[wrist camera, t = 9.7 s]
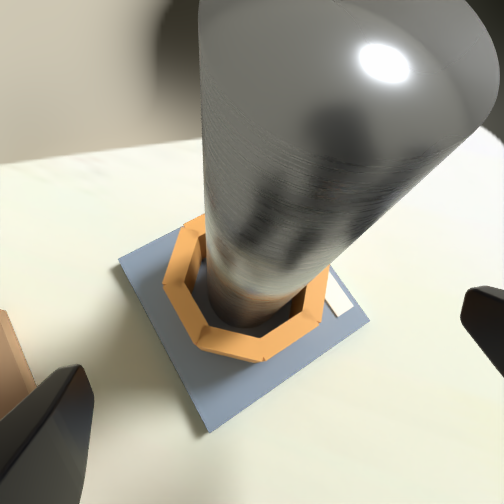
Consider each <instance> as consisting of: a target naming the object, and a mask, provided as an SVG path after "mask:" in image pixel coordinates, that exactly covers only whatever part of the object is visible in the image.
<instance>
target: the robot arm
mask: <svg viewBox="0 0 504 504" xmlns="http://www.w3.org/2000/svg"><path fill="white" fill-rule="evenodd" d="M460 320H461V323H462V325H463V326H464V328H465V329H466V330H467V332H468V333H469V334H470V335H471V337H472V338H473V339H474V341H475V342H476V343H477V344H478V346H479V347H480V348H481V349H482V351H483V352H484V353H485V355H486V356H487V357H488V358H489V360H490V361H491V362H492V364H493V365H494V366H495V367H496V369H497V370H498V371H499V372H500V374H501V375H502V376H503V377H504V290H502V289H498V288H494V287H490V286H479V287H474V288H470V289H468V290H467V292H466V294H465V297H464V301H463V306H462V310H461V314H460ZM93 408H94V394H93V391H92V388H91V386H90V383H89V380H88V378H87V375H86V373H85V370H84V368H83V367H82V366H81V365H79V364H75V365H70V366H64V367H60V368H58V369H57V370H55V371H54V372H53V373H52V374H51V375H50V376H49V377H48V378H46V379H45V380H44V381H43V382H42V383H41V384H40V385H39V386H38V387H37V388H35V389H34V390H33V391H32V392H31V393H30V394H29V395H28V396H27V397H26V398H24V399H23V400H22V401H21V402H20V403H19V404H18V405H17V406H16V407H14V408H13V409H12V410H11V411H10V412H9V413H8V414H7V415H6V416H5V417H3V418H2V419H1V420H0V504H79V503H80V498H81V494H82V489H83V484H84V479H85V472H86V465H87V457H88V449H89V441H90V433H91V424H92V416H93Z"/></svg>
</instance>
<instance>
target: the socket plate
mask: <svg viewBox="0 0 504 504" xmlns="http://www.w3.org/2000/svg"><path fill="white" fill-rule="evenodd" d="M183 225H184V226H182V227H180V228H178V229H176V230H174V231H172V232H170V233H168V234H166V235H164V236H162V237H160V238H158V239H156V240H154V241H152V242H150V243H149V244H147V245H145V246H143V247H141V248H139V249H137V250H135V251H133V252H131V253H129V254H127V255H125V256H123V257H121V258H119V259H118V260H119V262H120V264H121V266H122V268H123V270H124V272H125V274H126V276H127V277H128V279H129V281H130V283H131V285H132V287H133V289H134V291H135V293H136V295H137V296H138V298H139V300H140V302H141V304H142V306H143V308H144V310H145V312H146V314H147V315H148V317H149V319H150V321H151V323H152V325H153V327H154V329H155V331H156V333H157V335H158V336H159V338H160V340H161V342H162V344H163V346H164V348H165V350H166V352H167V354H168V355H169V357H170V359H171V361H172V363H173V365H174V367H175V369H176V371H177V373H178V374H179V376H180V378H181V380H182V382H183V384H184V386H185V388H186V390H187V392H188V394H189V395H190V397H191V399H192V401H193V403H194V405H195V407H196V409H197V411H198V413H199V414H200V416H201V418H202V420H203V422H204V424H205V426H206V428H207V430H208V432H209V433H211V432H212V431H214V430H215V429H216V428H218V427H219V426H221V425H222V424H224V423H225V422H226V421H228V420H229V419H231V418H232V417H234V416H235V415H236V414H238V413H239V412H241V411H242V410H244V409H245V408H246V407H248V406H249V405H251V404H252V403H254V402H255V401H256V400H258V399H259V398H261V397H262V396H264V395H265V394H266V393H268V392H269V391H271V390H272V389H274V388H275V387H276V386H278V385H279V384H281V383H282V382H284V381H285V380H286V379H288V378H289V377H291V376H292V375H293V374H295V373H296V372H298V371H299V370H301V369H302V368H303V367H305V366H306V365H308V364H309V363H311V362H312V361H313V360H315V359H316V358H318V357H319V356H321V355H322V354H323V353H325V352H326V351H328V350H329V349H331V348H332V347H333V346H335V345H336V344H338V343H339V342H341V341H342V340H343V339H345V338H346V337H348V336H349V335H351V334H352V333H353V332H355V331H356V330H358V329H359V328H361V327H362V326H363V325H365V324H366V323H368V322H369V321H370V320H369V318H368V317H367V316H366V314H365V313H364V312H363V310H362V309H361V307H360V306H359V305H358V303H357V302H356V300H355V299H354V298H353V296H352V295H351V293H350V292H349V291H348V289H347V288H346V286H345V285H344V284H343V282H342V281H341V279H340V278H339V277H338V275H337V274H336V272H335V271H334V270H333V268H332V267H331V265H330V264H329V265H328V266H327V267H326V268H325V269H324V270H323V271H321V272H320V273H319V274H318V275H317V276H316V277H315V278H314V279H313V280H312V281H311V282H309V283H308V284H307V285H306V286H305V287H304V288H303V289H302V290H301V291H300V292H298V293H297V294H296V295H295V296H294V297H293V298H292V299H291V300H290V301H289V302H288V303H286V304H285V305H284V306H283V307H282V308H281V309H280V310H279V311H278V312H277V313H276V314H274V315H273V316H272V317H271V318H270V319H269V320H268V321H266V322H265V323H263V324H261V325H259V326H256V327H252V328H238V327H234V326H231V325H229V324H227V323H225V322H224V321H222V320H221V319H220V318H219V317H218V316H217V315H216V314H215V312H214V311H213V309H212V307H211V305H210V302H209V299H208V287H207V258H206V230H205V214H203V215H201V216H199V217H197V218H195V219H193V220H191V221H189V222H187V223H185V224H183Z"/></svg>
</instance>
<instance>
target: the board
mask: <svg viewBox="0 0 504 504" xmlns="http://www.w3.org/2000/svg"><path fill="white" fill-rule="evenodd" d="M35 388H37V386H36V384H35V381H34V379H33V377H32V374H31V372H30V369H29V367H28V364H27V362H26V359H25V357H24V354H23V352H22V349H21V347H20V344H19V342H18V339H17V337H16V334H15V332H14V329H13V327H12V325H11V322H10V320H9V317H8V315H7V312H6V311H4V310H1V309H0V420H1V419H2V418H3V417H5V416H6V415H7V414H8V413H9V412H10V411H11V410H12V409H13V408H14V407H16V406H17V405H18V404H19V403H20V402H21V401H22V400H23V399H24V398H26V397H27V396H28V395H29V394H30V393H31V392H32V391H33V390H34V389H35Z"/></svg>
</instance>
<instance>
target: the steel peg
mask: <svg viewBox="0 0 504 504" xmlns="http://www.w3.org/2000/svg"><path fill="white" fill-rule="evenodd" d="M198 13H199V14H198V31H199V57H200V58H199V59H200V86H201V116H202V144H203V173H204V201H205V230H206V258H207V287H208V299H209V302H210V305H211V307H212V309H213V311H214V312H215V314H216V315H217V316H218V317H219V318H220V319H221V320H222V321H224V322H225V323H227V324H229V325H231V326H234V327H238V328H252V327H256V326H259V325H261V324H263V323H265V322H266V321H268V320H269V319H270V318H271V317H272V316H273V315H274V314H276V313H277V312H278V311H279V310H280V309H281V308H282V307H283V306H284V305H285V304H286V303H288V302H289V301H290V300H291V299H292V298H293V297H294V296H295V295H296V294H297V293H298V292H300V291H301V290H302V289H303V288H304V287H305V286H306V285H307V284H308V283H309V282H311V281H312V280H313V279H314V278H315V277H316V276H317V275H318V274H319V273H320V272H321V271H323V270H324V269H325V268H326V267H327V266H328V265H329V264H330V263H331V262H332V261H333V260H335V259H336V258H337V257H338V256H339V255H340V254H341V253H342V252H343V251H344V250H346V249H347V248H348V247H349V246H350V245H351V244H352V243H353V242H354V241H355V240H356V239H358V238H359V237H360V236H361V235H362V234H363V233H364V232H365V231H366V230H367V229H368V228H370V227H371V226H372V225H373V224H374V223H375V222H376V221H377V220H378V219H379V218H381V217H382V216H383V215H384V214H385V213H386V212H387V211H388V210H389V209H390V208H391V207H393V206H394V205H395V204H396V203H397V202H398V201H399V200H400V199H401V198H402V197H404V196H405V195H406V194H407V193H408V192H409V191H410V190H411V189H412V188H413V187H414V186H416V185H417V184H418V183H419V182H420V181H421V180H422V179H423V178H424V177H425V176H426V175H428V174H429V173H430V172H431V171H432V170H433V169H434V168H435V167H436V166H437V165H439V164H440V163H441V162H442V161H443V160H444V159H445V158H446V157H447V156H448V155H449V154H451V153H452V152H453V151H454V150H455V149H456V148H457V147H458V146H459V145H460V144H461V143H463V142H464V141H465V140H466V139H467V138H468V137H469V136H470V135H471V134H472V133H474V132H475V131H476V129H477V128H478V127H479V126H480V125H481V124H482V123H483V122H484V121H485V120H486V118H487V116H488V115H489V113H490V112H491V110H492V108H493V106H494V103H495V100H496V98H497V94H498V88H499V82H500V76H499V64H498V59H497V54H496V51H495V48H494V45H493V42H492V40H491V38H490V36H489V34H488V32H487V30H486V28H485V26H484V25H483V23H482V22H481V20H480V19H479V17H478V16H477V14H476V13H475V12H474V11H473V9H472V8H471V7H470V6H469V5H468V3H467V2H466V1H465V0H200V3H199V12H198Z"/></svg>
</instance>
